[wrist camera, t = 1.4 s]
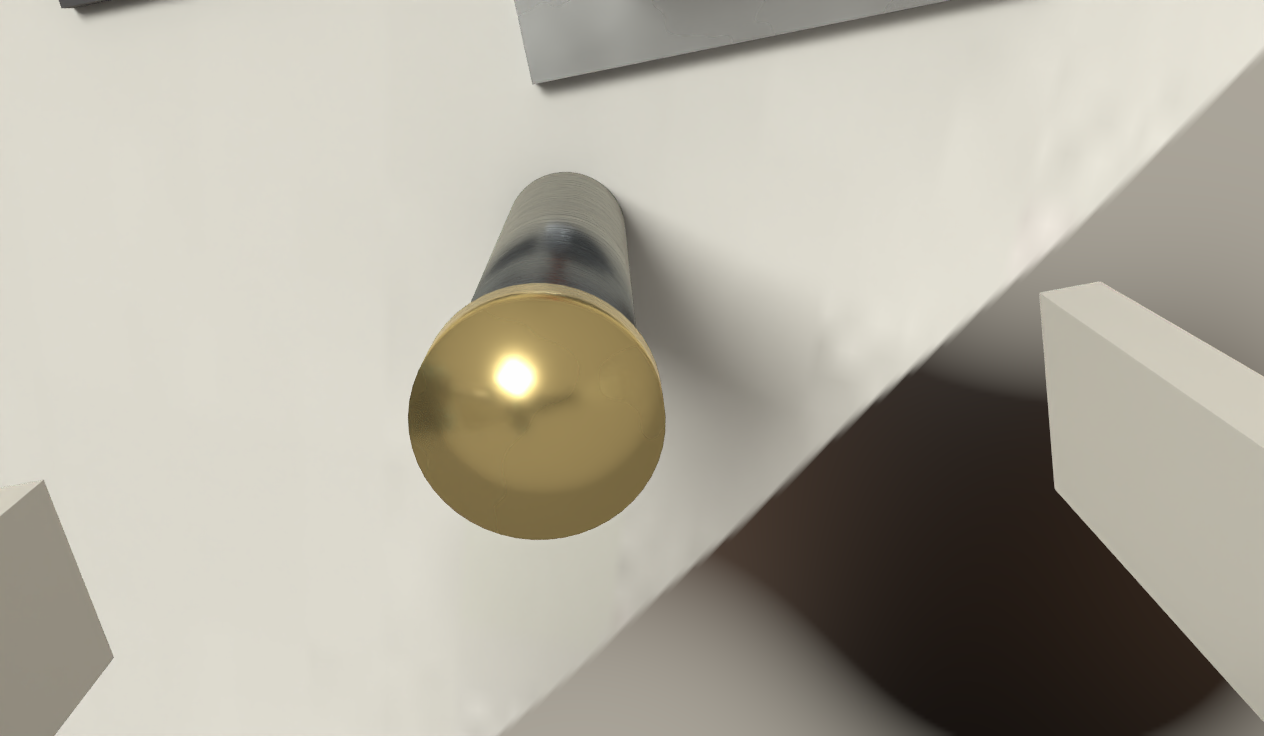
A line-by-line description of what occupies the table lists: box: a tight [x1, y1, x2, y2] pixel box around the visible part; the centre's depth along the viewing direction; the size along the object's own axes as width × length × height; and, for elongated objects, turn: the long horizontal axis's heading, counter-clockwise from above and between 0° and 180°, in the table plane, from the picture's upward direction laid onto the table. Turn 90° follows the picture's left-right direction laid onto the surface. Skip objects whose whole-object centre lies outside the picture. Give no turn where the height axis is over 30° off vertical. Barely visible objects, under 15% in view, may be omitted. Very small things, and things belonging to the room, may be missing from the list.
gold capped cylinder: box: [408, 172, 665, 540], centre depth 23 cm, size 4×4×14 cm
